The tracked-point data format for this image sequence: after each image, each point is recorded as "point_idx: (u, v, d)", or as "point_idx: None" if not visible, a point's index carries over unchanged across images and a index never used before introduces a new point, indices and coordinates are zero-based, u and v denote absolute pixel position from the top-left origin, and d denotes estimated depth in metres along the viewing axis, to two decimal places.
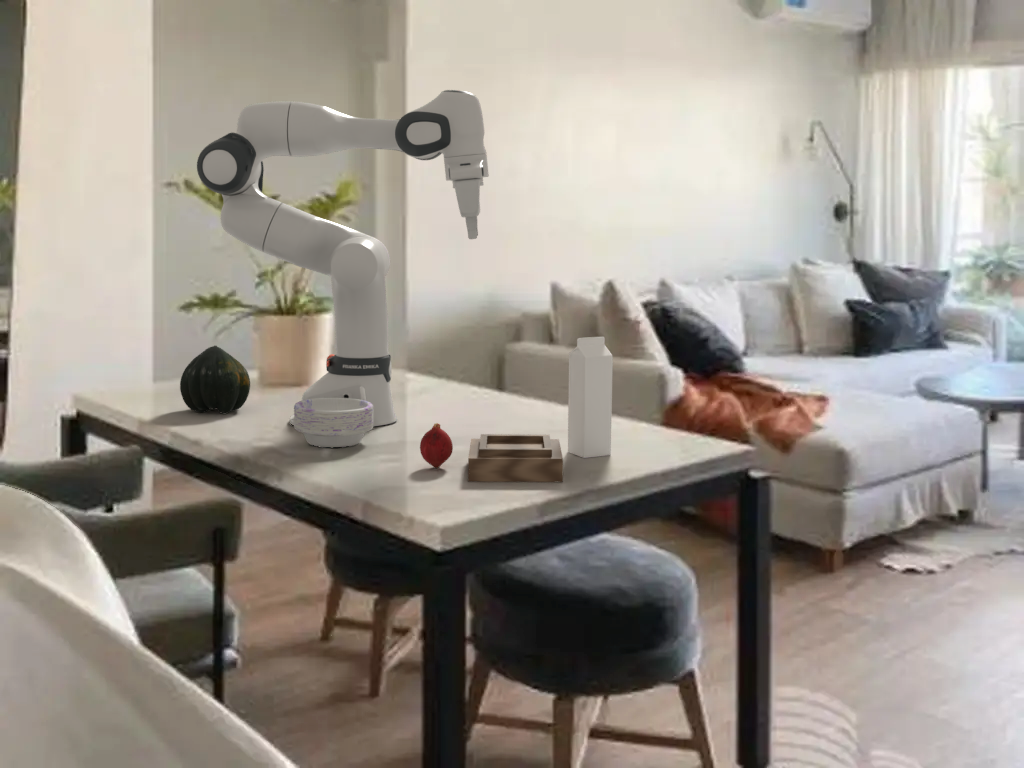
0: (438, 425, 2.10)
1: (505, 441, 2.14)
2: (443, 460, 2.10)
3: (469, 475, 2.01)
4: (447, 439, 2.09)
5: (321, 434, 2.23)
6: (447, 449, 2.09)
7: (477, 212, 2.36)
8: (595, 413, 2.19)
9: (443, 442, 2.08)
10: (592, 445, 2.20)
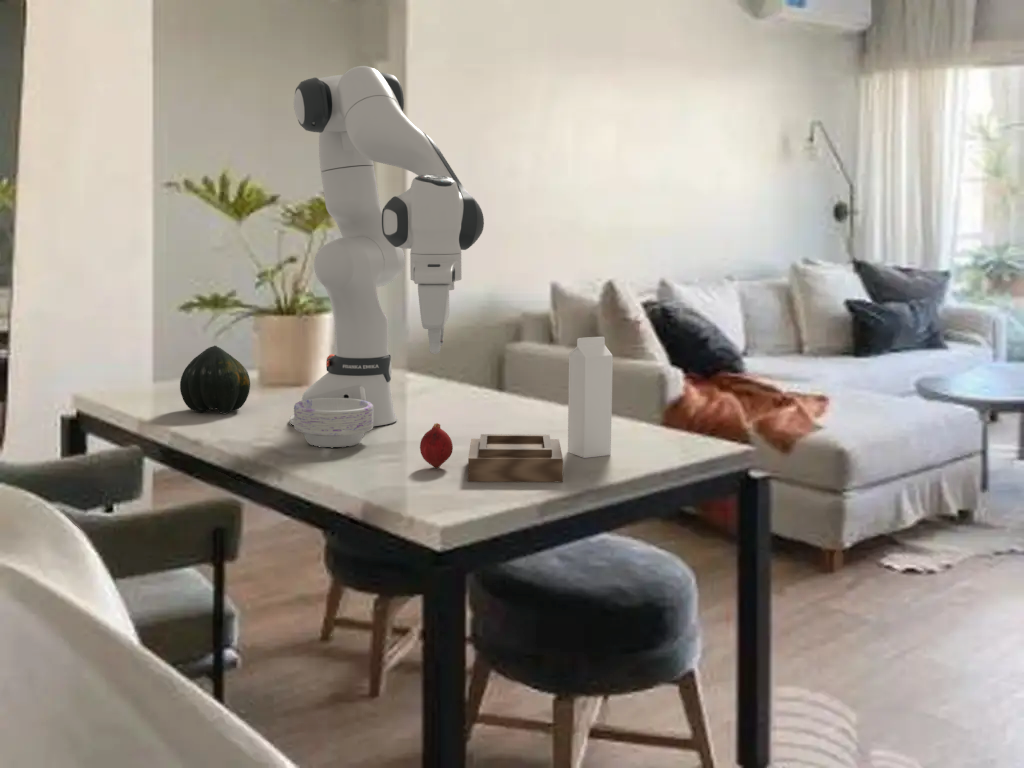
0: (438, 425, 2.10)
1: (505, 441, 2.14)
2: (443, 460, 2.10)
3: (469, 475, 2.01)
4: (447, 439, 2.09)
5: (321, 434, 2.23)
6: (447, 449, 2.09)
7: (442, 325, 1.98)
8: (595, 413, 2.19)
9: (443, 442, 2.08)
10: (592, 445, 2.20)
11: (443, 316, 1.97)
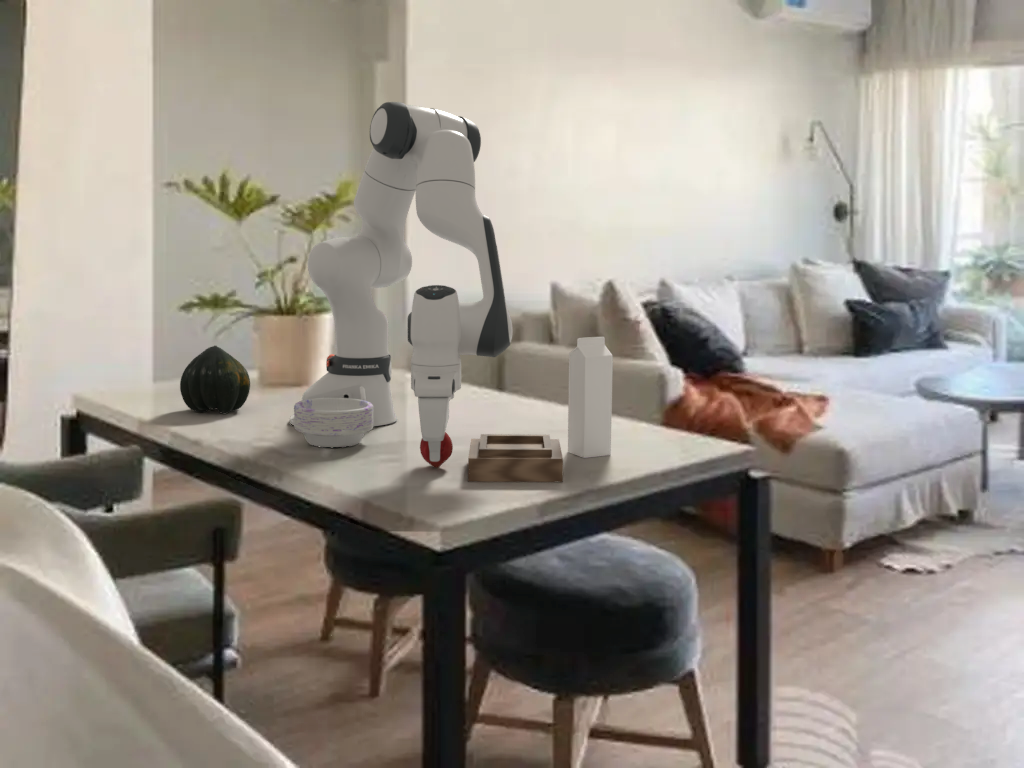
0: None
1: (505, 441, 2.14)
2: (443, 460, 2.10)
3: (469, 475, 2.01)
4: (447, 439, 2.09)
5: (321, 434, 2.23)
6: (447, 449, 2.09)
7: (442, 437, 2.01)
8: (595, 413, 2.19)
9: (443, 442, 2.08)
10: (592, 445, 2.20)
11: (443, 429, 2.00)
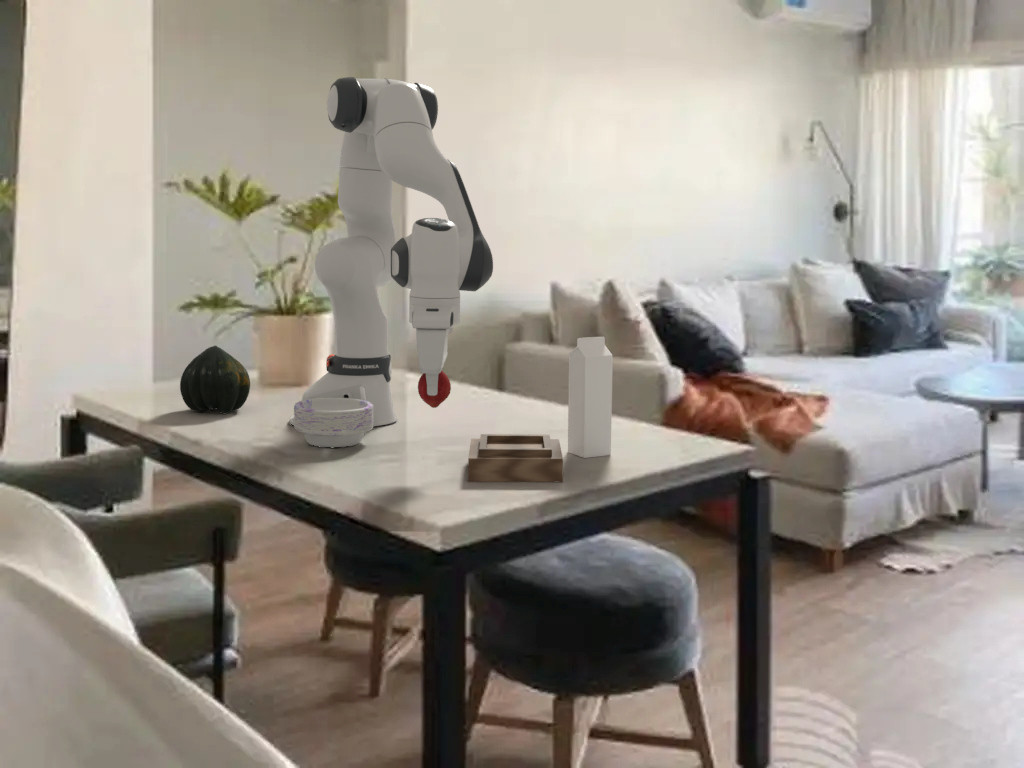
0: None
1: (505, 441, 2.14)
2: (441, 400, 2.08)
3: (469, 475, 2.01)
4: (445, 379, 2.08)
5: (321, 434, 2.23)
6: (445, 388, 2.07)
7: (439, 369, 1.99)
8: (595, 413, 2.19)
9: (441, 382, 2.07)
10: (592, 445, 2.20)
11: (440, 361, 1.98)
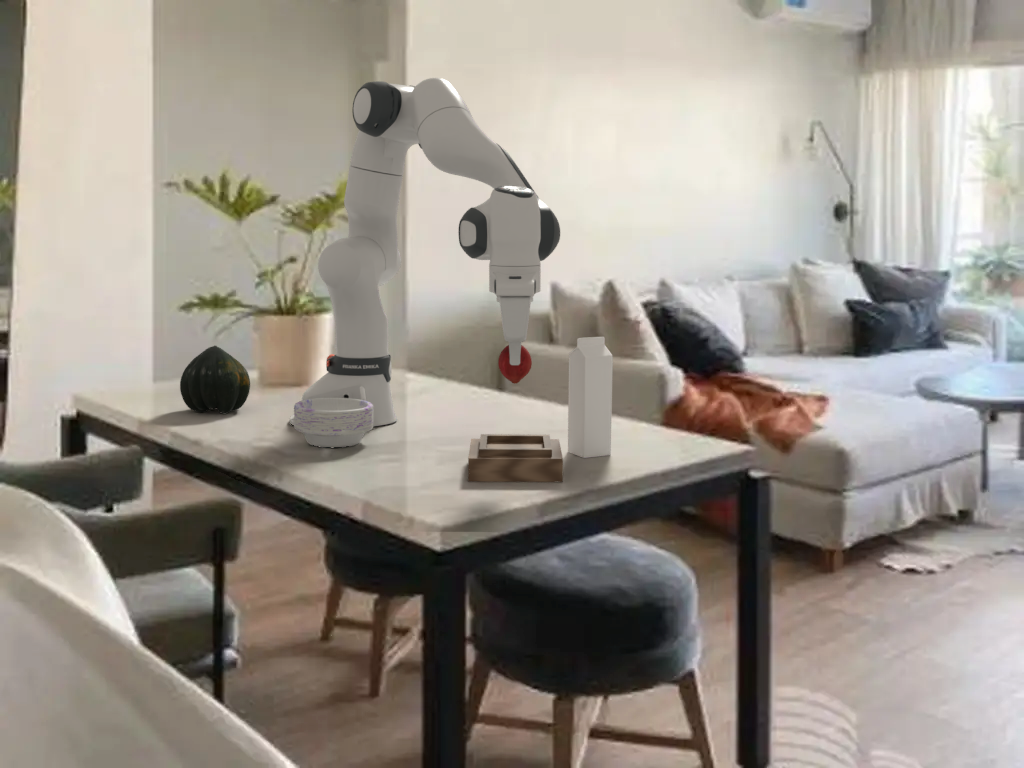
0: None
1: (505, 441, 2.14)
2: (522, 375, 2.05)
3: (469, 475, 2.01)
4: (526, 353, 2.05)
5: (321, 434, 2.23)
6: (527, 363, 2.04)
7: (524, 337, 1.96)
8: (595, 413, 2.19)
9: (522, 356, 2.04)
10: (592, 445, 2.20)
11: (526, 329, 1.95)
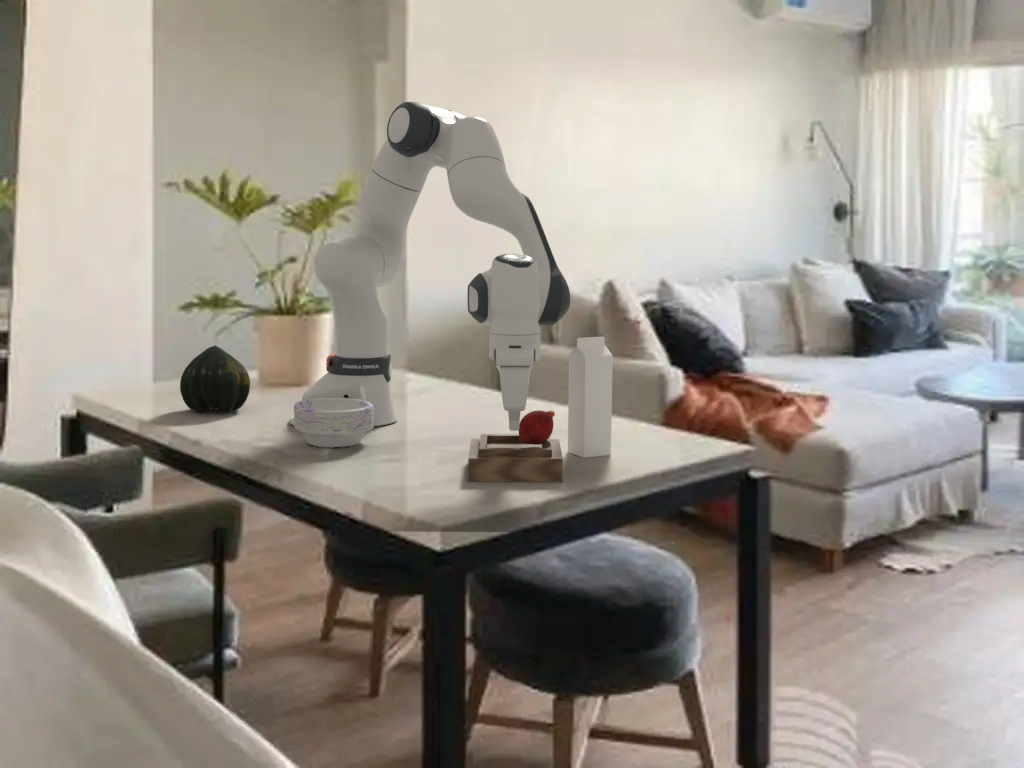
0: (553, 414, 2.09)
1: (505, 441, 2.14)
2: (533, 442, 2.08)
3: (469, 475, 2.01)
4: (551, 430, 2.08)
5: (321, 434, 2.23)
6: (545, 437, 2.07)
7: (523, 407, 1.98)
8: (595, 413, 2.19)
9: (548, 429, 2.07)
10: (592, 445, 2.20)
11: (525, 398, 1.97)
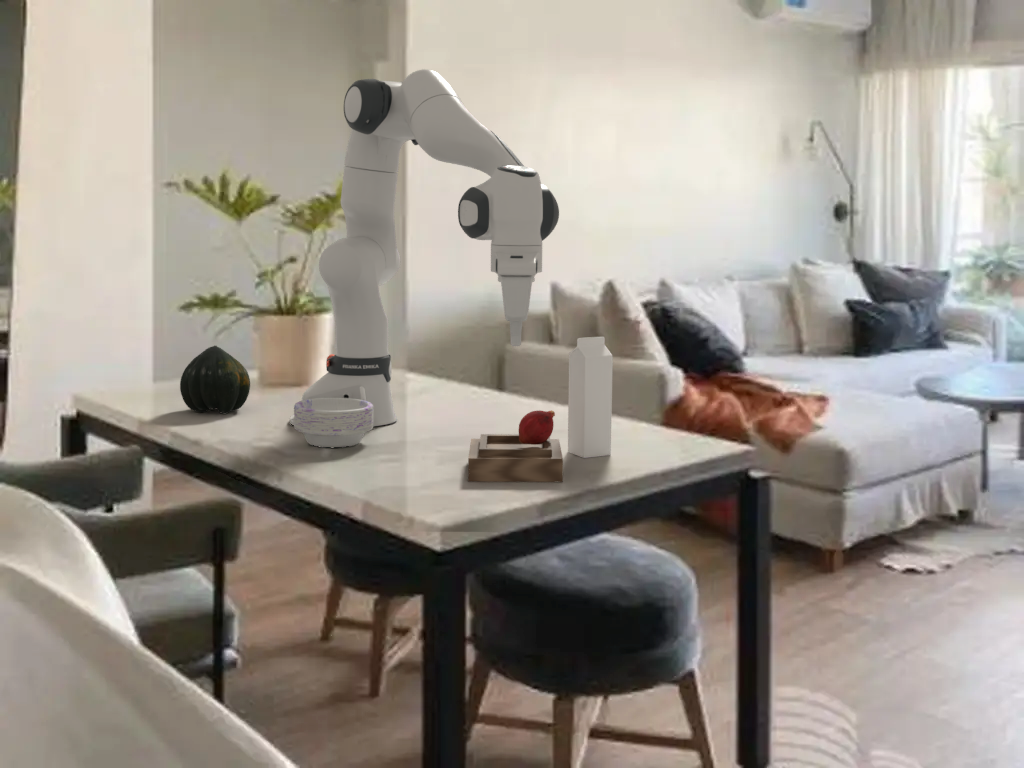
0: (553, 414, 2.09)
1: (505, 441, 2.14)
2: (533, 441, 2.08)
3: (469, 475, 2.01)
4: (551, 430, 2.08)
5: (321, 434, 2.23)
6: (545, 437, 2.07)
7: (525, 317, 1.95)
8: (595, 413, 2.19)
9: (548, 429, 2.07)
10: (592, 445, 2.20)
11: (527, 308, 1.95)
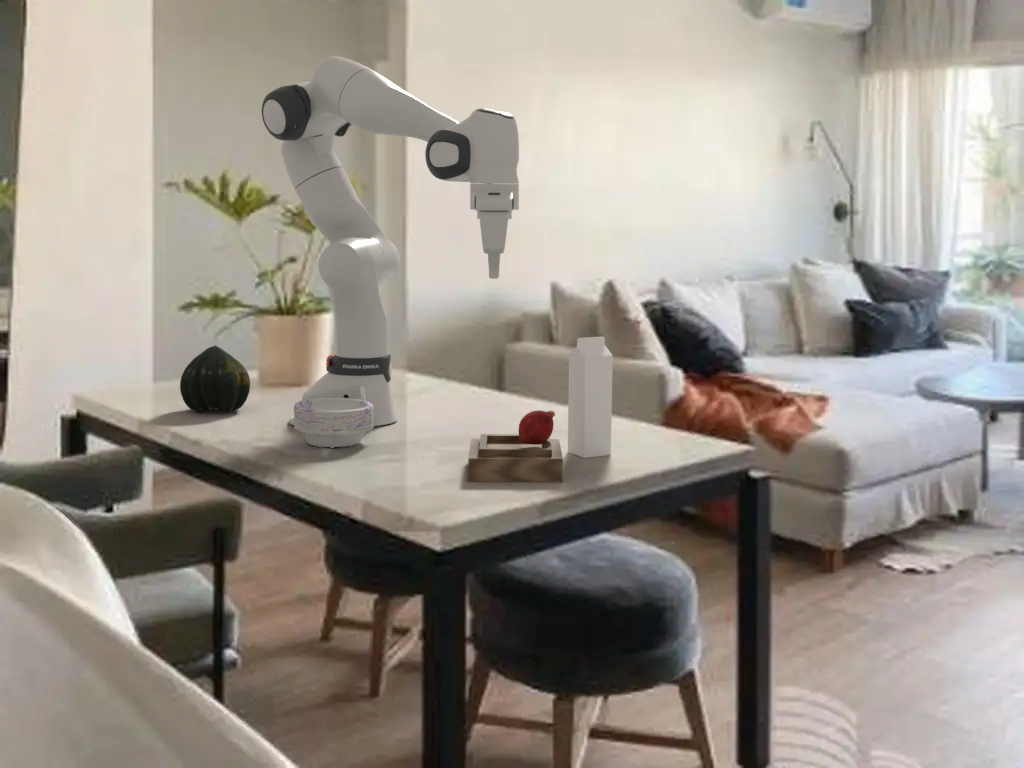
0: (553, 414, 2.09)
1: (505, 441, 2.14)
2: (533, 441, 2.08)
3: (469, 475, 2.01)
4: (551, 430, 2.08)
5: (321, 434, 2.23)
6: (545, 437, 2.07)
7: (502, 249, 2.07)
8: (595, 413, 2.19)
9: (548, 429, 2.07)
10: (592, 445, 2.20)
11: (503, 241, 2.07)
